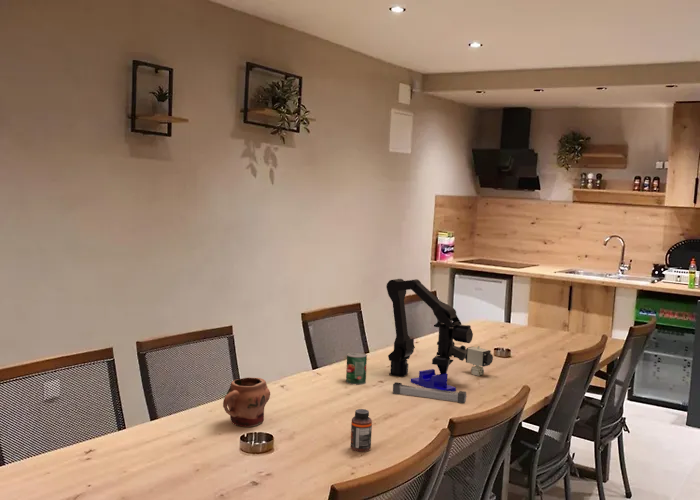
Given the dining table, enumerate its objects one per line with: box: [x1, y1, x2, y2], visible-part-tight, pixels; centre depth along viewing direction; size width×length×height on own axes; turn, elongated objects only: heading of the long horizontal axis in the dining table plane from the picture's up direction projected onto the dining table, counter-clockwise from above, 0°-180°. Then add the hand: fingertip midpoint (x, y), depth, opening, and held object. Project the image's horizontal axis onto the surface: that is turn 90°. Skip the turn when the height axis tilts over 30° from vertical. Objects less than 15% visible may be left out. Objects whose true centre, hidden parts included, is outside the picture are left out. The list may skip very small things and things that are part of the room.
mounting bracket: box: [409, 368, 457, 392], centre depth 271 cm, size 18×7×6 cm, turn 36°
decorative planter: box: [222, 377, 271, 428], centre depth 219 cm, size 20×12×14 cm, turn 154°
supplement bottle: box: [350, 408, 373, 453], centre depth 202 cm, size 6×6×11 cm
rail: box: [392, 381, 467, 404], centre depth 256 cm, size 27×3×4 cm, turn 70°
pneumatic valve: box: [464, 346, 494, 377], centre depth 292 cm, size 6×12×12 cm, turn 46°
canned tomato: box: [345, 351, 368, 386], centre depth 273 cm, size 8×8×11 cm
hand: (443, 378), depth 275 cm, fingers closed
